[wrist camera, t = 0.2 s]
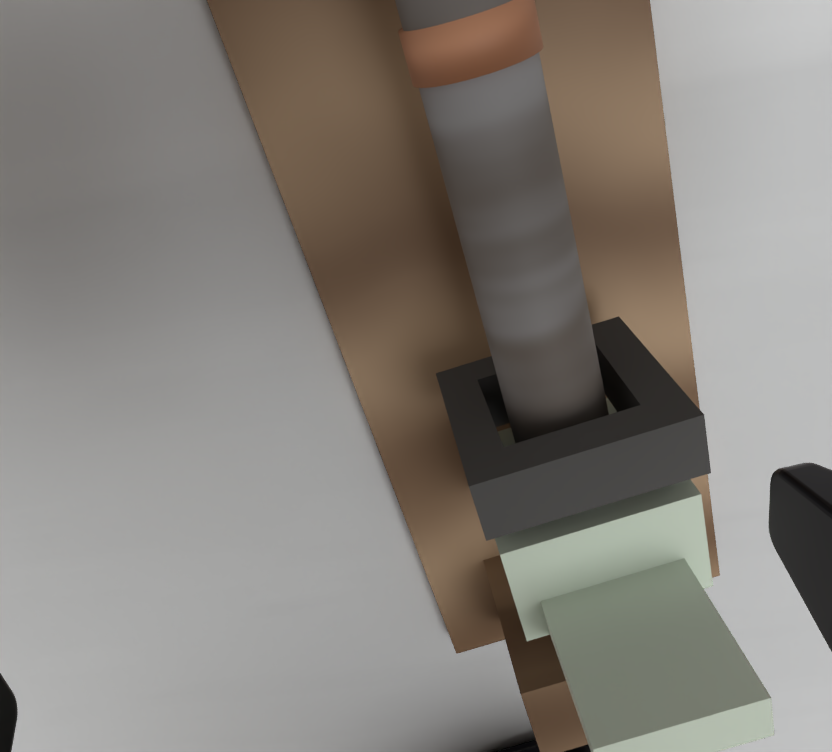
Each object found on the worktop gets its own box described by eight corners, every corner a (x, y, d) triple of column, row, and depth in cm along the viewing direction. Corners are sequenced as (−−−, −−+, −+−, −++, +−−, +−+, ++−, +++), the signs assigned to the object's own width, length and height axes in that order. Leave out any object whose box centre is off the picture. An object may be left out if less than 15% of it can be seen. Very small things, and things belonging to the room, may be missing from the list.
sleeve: (641, 473, 23) (803, 726, 15) (488, 519, 23) (574, 793, 16) (626, 391, 22) (797, 626, 14) (464, 441, 22) (545, 700, 14)
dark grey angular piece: (627, 365, 22) (710, 473, 17) (450, 420, 22) (486, 540, 17) (618, 316, 21) (703, 414, 16) (435, 373, 21) (468, 486, 16)
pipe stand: (707, 556, 29) (804, 703, 23) (452, 632, 29) (485, 795, 23) (566, -526, 15) (723, -836, 9) (78, -354, 15) (-66, -547, 9)
